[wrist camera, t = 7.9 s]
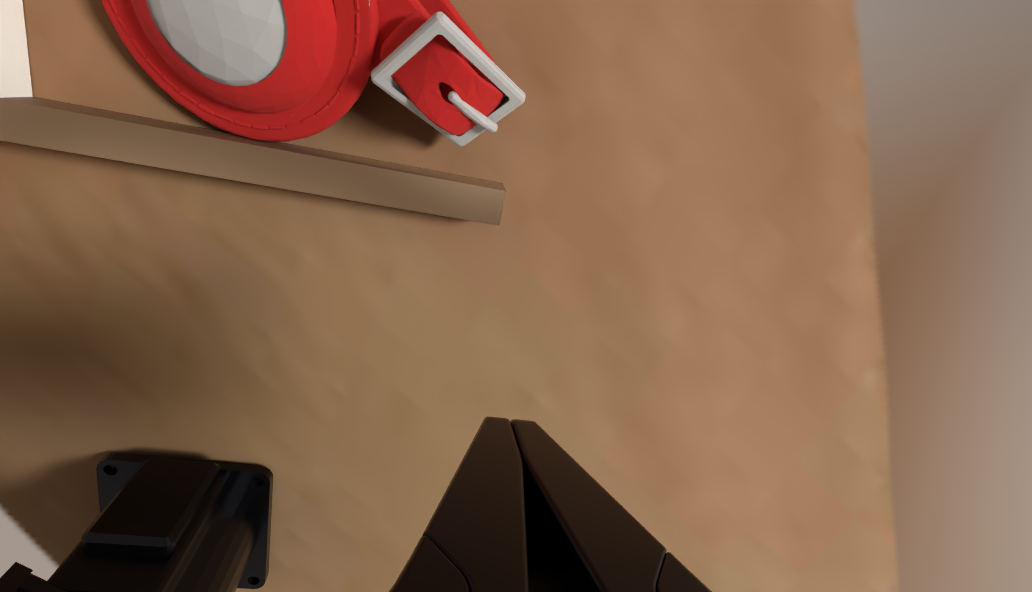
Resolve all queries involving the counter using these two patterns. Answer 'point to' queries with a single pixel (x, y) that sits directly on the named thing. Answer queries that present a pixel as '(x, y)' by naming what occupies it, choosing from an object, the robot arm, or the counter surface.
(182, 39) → the tracker holder
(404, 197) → the guide channel
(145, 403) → the counter surface
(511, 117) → the counter surface
